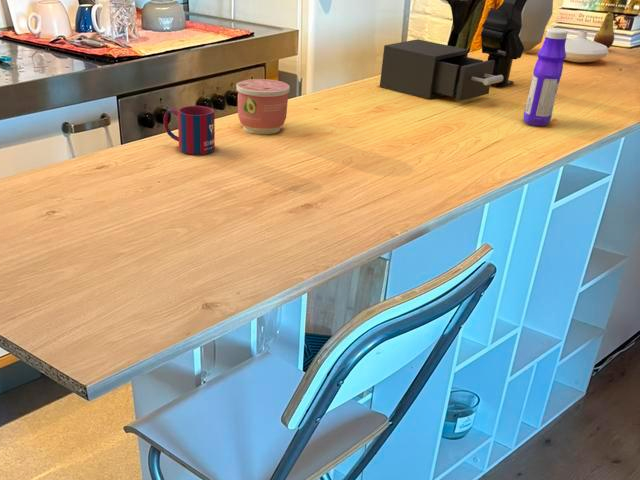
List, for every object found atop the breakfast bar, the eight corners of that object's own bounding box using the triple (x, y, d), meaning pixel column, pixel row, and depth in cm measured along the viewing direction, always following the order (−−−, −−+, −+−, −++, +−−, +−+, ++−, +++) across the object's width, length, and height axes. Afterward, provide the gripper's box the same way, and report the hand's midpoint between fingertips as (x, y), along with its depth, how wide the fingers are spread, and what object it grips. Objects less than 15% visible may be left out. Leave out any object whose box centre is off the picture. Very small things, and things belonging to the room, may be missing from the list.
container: (228, 123, 166) (228, 80, 161) (275, 119, 170) (277, 77, 164) (247, 137, 159) (248, 93, 154) (295, 133, 162) (298, 89, 157)
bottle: (550, 128, 171) (573, 34, 160) (522, 126, 172) (544, 32, 160) (548, 119, 176) (570, 27, 165) (521, 117, 177) (542, 25, 166)
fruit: (614, 50, 238) (627, 2, 230) (605, 52, 235) (619, 4, 227) (596, 47, 241) (609, -1, 233) (587, 49, 238) (600, 1, 230)
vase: (538, 60, 224) (545, 31, 219) (557, 51, 234) (564, 23, 229) (595, 69, 217) (603, 39, 212) (612, 60, 227) (620, 31, 222)
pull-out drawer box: (506, 98, 186) (513, 64, 182) (477, 105, 180) (483, 71, 175) (441, 82, 196) (446, 50, 191) (411, 89, 190) (416, 56, 185)
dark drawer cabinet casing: (461, 91, 194) (468, 49, 188) (429, 99, 187) (435, 56, 181) (412, 79, 202) (417, 39, 196) (379, 86, 195) (384, 45, 189)
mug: (202, 157, 149) (201, 117, 144) (157, 147, 153) (155, 108, 148) (221, 148, 153) (221, 109, 149) (177, 139, 157) (176, 101, 153)
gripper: (464, -55, 185) (451, 23, 195) (414, -51, 175) (404, 32, 185) (506, -50, 179) (491, 31, 189) (457, -45, 169) (444, 40, 179)
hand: (457, 33), depth 186 cm, fingers closed
